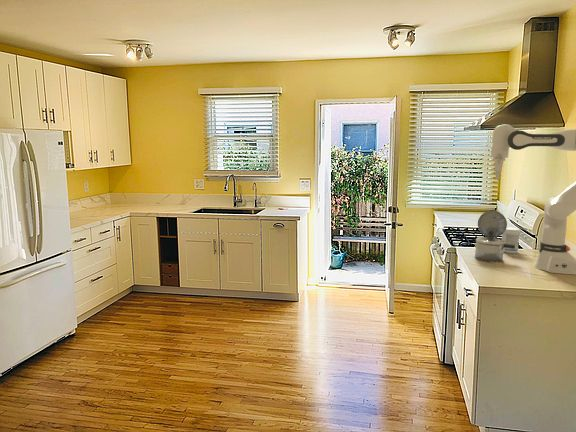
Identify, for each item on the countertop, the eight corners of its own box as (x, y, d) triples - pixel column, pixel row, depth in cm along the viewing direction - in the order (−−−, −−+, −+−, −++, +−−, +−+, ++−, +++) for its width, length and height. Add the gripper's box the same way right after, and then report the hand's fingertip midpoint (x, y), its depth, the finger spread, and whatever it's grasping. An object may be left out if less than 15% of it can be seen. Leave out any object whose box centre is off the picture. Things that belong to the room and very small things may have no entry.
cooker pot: (512, 258, 273) (514, 240, 271) (513, 265, 259) (515, 246, 257) (475, 253, 282) (476, 236, 280) (473, 260, 268) (475, 241, 266)
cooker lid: (505, 239, 273) (505, 239, 276) (508, 211, 273) (508, 212, 276) (476, 236, 280) (476, 236, 283) (479, 209, 279) (479, 209, 282)
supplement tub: (520, 252, 287) (523, 229, 284) (510, 254, 283) (513, 230, 280) (507, 249, 296) (509, 226, 293) (497, 250, 291) (499, 227, 289)
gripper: (506, 155, 247) (503, 181, 249) (505, 153, 265) (503, 177, 268) (493, 154, 249) (490, 180, 252) (493, 153, 268) (491, 177, 270)
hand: (497, 179), depth 260 cm, fingers open, 8 cm apart
